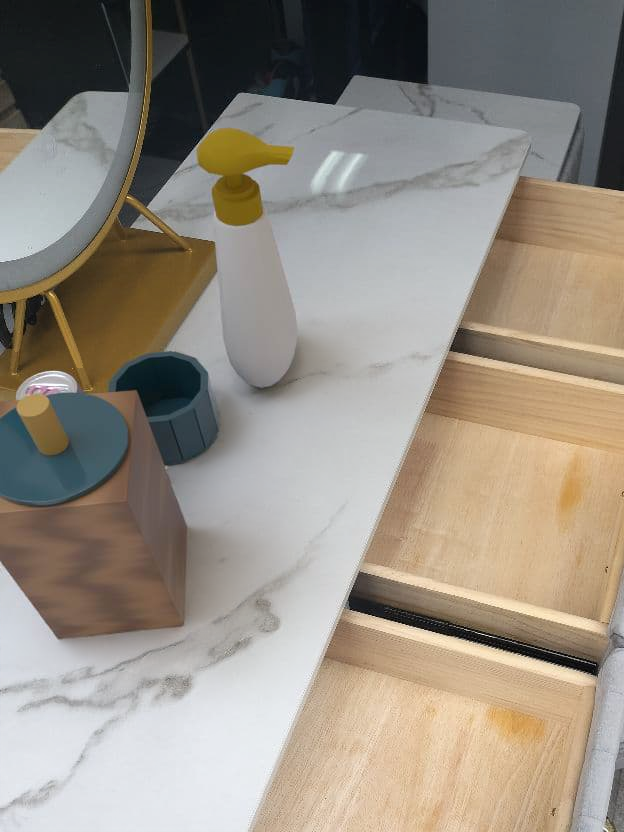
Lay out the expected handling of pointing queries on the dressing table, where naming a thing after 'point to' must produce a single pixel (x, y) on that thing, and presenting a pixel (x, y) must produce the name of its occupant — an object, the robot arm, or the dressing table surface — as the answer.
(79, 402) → the lid
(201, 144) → the soap bottle
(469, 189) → the dressing table surface
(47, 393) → the beverage can
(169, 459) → the pot
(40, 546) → the stand
